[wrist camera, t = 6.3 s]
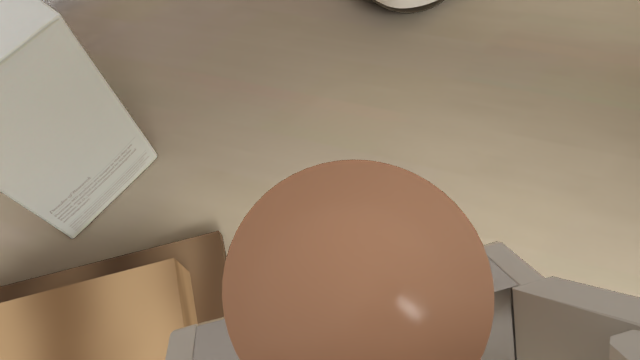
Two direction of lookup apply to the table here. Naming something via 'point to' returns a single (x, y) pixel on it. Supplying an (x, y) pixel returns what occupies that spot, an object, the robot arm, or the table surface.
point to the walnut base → (114, 304)
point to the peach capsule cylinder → (357, 270)
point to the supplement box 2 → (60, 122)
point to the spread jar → (407, 5)
